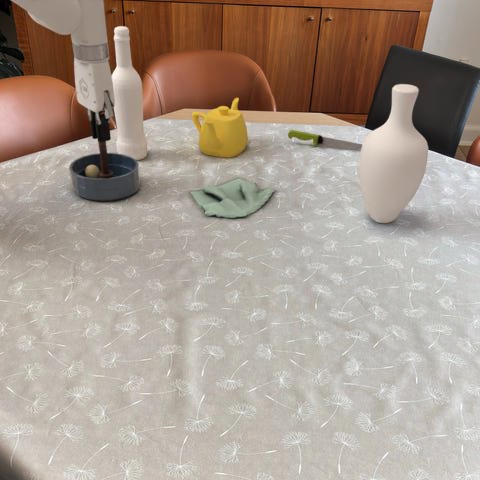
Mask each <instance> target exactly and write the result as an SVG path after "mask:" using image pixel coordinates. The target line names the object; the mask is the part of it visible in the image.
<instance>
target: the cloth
mask: <svg viewBox="0 0 480 480" xmlns="http://www.w3.org/2000/svg"><path fill="white" fill-rule="evenodd" d="M202 187H203V188H202V190H198V191H190V194H191V196H192V198H193V199H194V200H195V202H196V204H198V206H199V207H200V209H201V210H203V211H205V212H204V214H205V216H206V217H215V218H224V219H225V218H226V219H235V218H247V216H249V215H251V214H253V213H255V212H257V211H258V210H259V209H261V208H262V206H264V205H265V204H266V202H268V201H269V199H270V198H271V197H272V195H273V193H274V192H275V191H276V190H275V188H274V187H270V188H269V187H267V188H265V189H264V190H262V189H260V188H259V186H258V185H257V182H255V181H253V182H248V181H246V180H244V179H242V178H236V179H234V180H231V181H229V182H226V183H223V184H221V185H219V186H217V185H205V186H202Z"/></svg>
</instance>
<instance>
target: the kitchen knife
mask: <svg viewBox="0 0 480 480" xmlns="http://www.w3.org/2000/svg"><path fill="white" fill-rule="evenodd" d="M287 137H288V138H289V139H290V140H291V139H292V138H296V139H298V140H300V141H311V140H312V147H314V148H315V147H322V148H330V149H338V150H339V149H340V150H348V151H361V148H362V145H363V143H358V142H352V141H347V140H342V139H336V138H332V137H327V136H322V135H321V134H315V133H311V132H305V131H301V130H296V129H295V130H293V129H290V130H289V131H288V133H287Z"/></svg>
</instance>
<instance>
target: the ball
mask: <svg viewBox="0 0 480 480" xmlns="http://www.w3.org/2000/svg"><path fill="white" fill-rule="evenodd" d="M99 172H100V171H99V169H98V167H97V166H95V165H89V166H87V167H86V169H85V175H86V177H88V178H99V174H98V173H99Z"/></svg>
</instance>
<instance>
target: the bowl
mask: <svg viewBox="0 0 480 480" xmlns="http://www.w3.org/2000/svg"><path fill="white" fill-rule="evenodd" d="M107 155H108V163H109V170H111V171H113V174H114V177H113V178H88V177H86V175H85V169H86V167H87V166H89V165H95V166H97V167H98V169H99V171H102V168H101V160H100V152H97V153H91V154H87V155H83V156H80V157H78V158H76V159H74V160H73V161H71V163H70V164H69V166H68V170H69V177H70V182H71V187H72V190H73V193H75V194H76V195H77V196H79V197H82V198H84V199H87V200H90V201H97V202H112V201H117V200H123V199H125V198H128V197H131V196H132V195H133V194H135V193H136V192H138V190H139V189H140V188H141V176H140V164H139V162H138V160H136V159H134V158H132V157H130V156H127V155H124V154H118V152H117V153H116V152H107Z"/></svg>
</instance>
